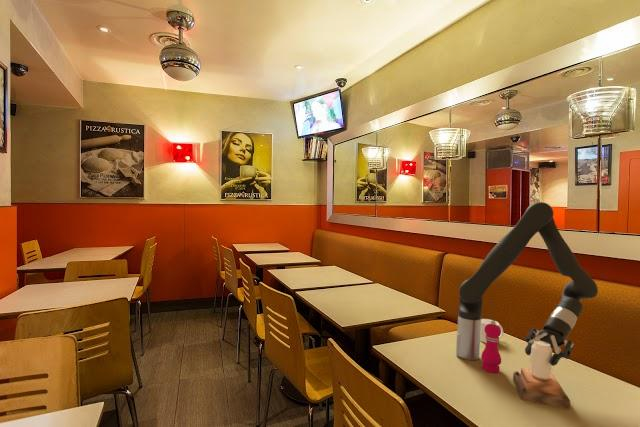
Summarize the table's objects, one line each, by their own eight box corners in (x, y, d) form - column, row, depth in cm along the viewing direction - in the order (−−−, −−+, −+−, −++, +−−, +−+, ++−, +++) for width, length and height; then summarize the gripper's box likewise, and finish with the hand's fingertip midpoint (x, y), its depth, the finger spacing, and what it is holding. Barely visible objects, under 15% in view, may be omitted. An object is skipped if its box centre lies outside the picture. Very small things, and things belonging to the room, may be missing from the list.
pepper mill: (499, 367, 141) (501, 319, 140) (502, 375, 134) (505, 324, 133) (479, 364, 143) (482, 316, 142) (481, 371, 136) (484, 321, 136)
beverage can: (528, 376, 121) (530, 342, 121) (531, 370, 126) (533, 338, 125) (548, 383, 117) (550, 348, 117) (552, 376, 122) (554, 343, 121)
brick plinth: (520, 399, 117) (521, 382, 117) (513, 380, 130) (513, 364, 130) (569, 409, 112) (570, 391, 112) (556, 388, 126) (557, 372, 125)
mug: (480, 343, 165) (481, 324, 165) (475, 336, 174) (475, 318, 174) (507, 345, 164) (508, 326, 163) (500, 338, 173) (501, 320, 172)
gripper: (536, 310, 130) (515, 344, 126) (578, 323, 117) (555, 361, 113) (544, 323, 133) (523, 356, 128) (586, 336, 120) (564, 374, 115)
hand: (538, 358), depth 120 cm, fingers open, 8 cm apart
